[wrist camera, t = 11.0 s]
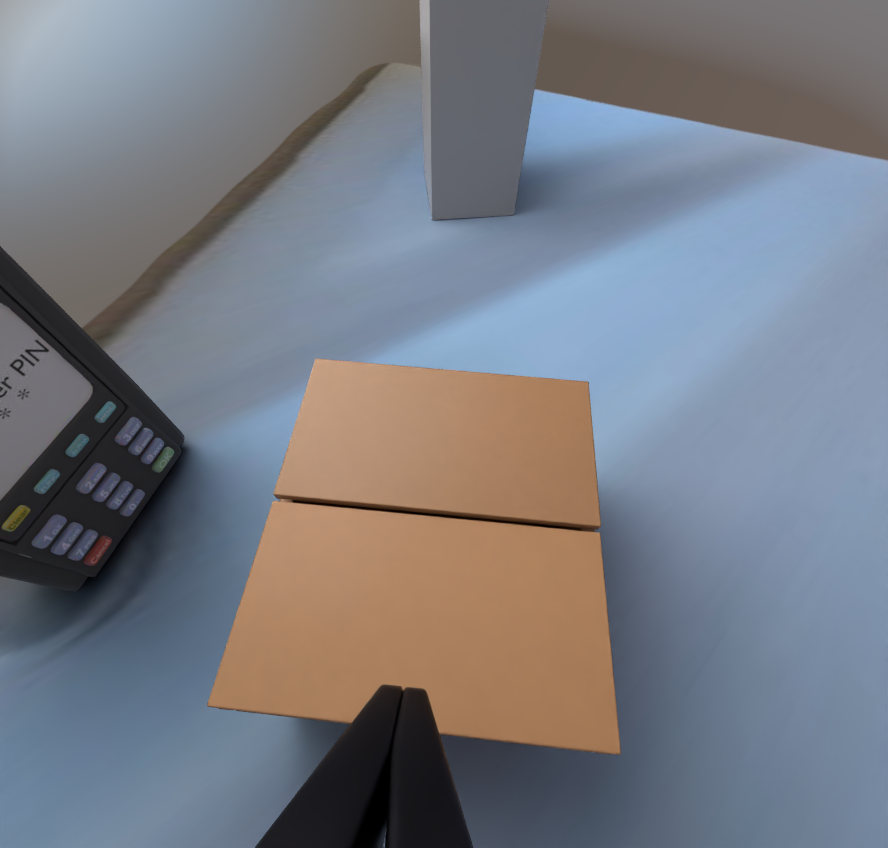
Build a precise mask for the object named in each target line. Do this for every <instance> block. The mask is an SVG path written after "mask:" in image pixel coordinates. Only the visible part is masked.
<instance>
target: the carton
mask: <svg viewBox="0 0 888 848" xmlns="http://www.w3.org/2000/svg"><path fill="white" fill-rule="evenodd" d="M273 494H274V496H275V497H276V498H278V499H280V501H281V502H291V503H301V504H311V505H321V506H332V507H342V508H352V509H362V510H372V511H383V512H393V513H403V514H413V515H423V516H434V517H444V518H454V519H464V520H474V521H485V522H495V523H505V524H515V525H525V526H536V527H546V528H556V529H566V530H577V531H587V532H595V530H597V529H599V528H600V527H601V520H600V508H599V497H598V485H597V474H596V463H595V451H594V440H593V428H592V417H591V405H590V394H589V383H588V382H584V381H572V380H561V379H549V378H537V377H525V376H514V375H502V374H490V373H478V372H467V371H455V370H443V369H432V368H420V367H408V366H396V365H385V364H373V363H361V362H349V361H338V360H326V359H316V360H315V363H314V366H313V369H312V372H311V375H310V379H309V382H308V385H307V388H306V391H305V395H304V398H303V401H302V404H301V407H300V411H299V414H298V417H297V420H296V423H295V426H294V430H293V433H292V436H291V439H290V442H289V446H288V449H287V452H286V455H285V458H284V462H283V465H282V468H281V471H280V474H279V477H278V481H277V484H276V487H275V490H274V493H273ZM219 709H223V708H219ZM226 710H232V709H226ZM236 711H241V710H236ZM243 712H249V711H243ZM251 713H258V712H251ZM260 714H266V713H260ZM269 715H275V714H269ZM277 716H283V715H277ZM286 717H292V716H286ZM294 718H300V717H294ZM303 719H309V718H303ZM311 720H318V719H311ZM320 721H326V720H320ZM328 722H335V721H328ZM337 723H343V722H337ZM345 724H351V723H345ZM440 735H446V734H440ZM448 736H454V735H448ZM457 737H463V736H457ZM465 738H472V737H465ZM474 739H480V738H474ZM482 740H489V739H482ZM491 741H497V740H491ZM499 742H506V741H499ZM508 743H514V742H508ZM517 744H523V743H517ZM525 745H531V744H525ZM534 746H540V745H534ZM542 747H549V746H542ZM551 748H557V747H551ZM559 749H566V748H559ZM568 750H574V749H568ZM576 751H583V750H576ZM585 752H591V751H585ZM596 753H600V752H596ZM602 754H608V753H602Z"/></svg>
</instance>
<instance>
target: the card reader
mask: <svg viewBox="0 0 888 848" xmlns="http://www.w3.org/2000/svg"><path fill="white" fill-rule="evenodd" d="M183 442H184V435H183V434H182V432H181V431H180V430H179V429H178V428H177V427H176V426H175V425H174V424H173V423H172V422H171V421H170V419H169V418H168V417H167V416H166V415H165V414H164V413H163V412H162V411H161V410H160V409H159V408H158V407H157V405H156V404H155V403H154V402H153V401H152V400H151V399H150V398H149V397H148V396H147V395H146V394H145V393H144V392H143V390H142V389H141V388H140V387H139V386H138V385H137V384H136V383H135V382H134V381H133V380H132V379H131V378H130V377H129V376H128V375H127V374H126V373H125V372H124V371H123V370H122V369H121V368H120V367H119V366H118V365H117V364H116V363H115V362H114V361H113V360H112V359H111V358H110V357H109V356H108V355H107V354H106V353H105V352H104V351H103V350H102V348H101V347H100V346H99V345H98V344H97V343H96V342H95V341H94V340H93V339H92V338H91V337H90V336H89V335H88V334H87V333H86V332H85V331H84V330H83V329H82V328H81V327H80V326H79V325H78V324H77V323H76V322H75V321H74V320H73V319H72V318H71V317H70V316H69V315H68V314H67V313H66V312H65V311H64V310H63V309H62V308H61V307H60V306H59V305H58V304H57V303H56V302H55V301H54V300H53V299H52V298H51V297H50V296H49V295H48V294H47V293H46V292H45V291H44V290H43V289H42V288H41V287H40V286H39V285H38V284H37V283H36V282H35V281H34V280H33V279H32V278H31V277H30V276H29V275H28V274H27V273H26V272H25V271H24V270H23V269H22V268H21V267H20V266H19V265H18V264H17V263H16V262H15V261H14V260H13V259H12V258H11V257H10V256H9V255H8V254H7V253H6V252H5V251H4V250H3V249H2V248H1V247H0V576H2V577H6V578H11V579H16V580H20V581H25V582H30V583H35V584H39V585H44V586H49V587H54V588H58V589H63V590H68V591H77V590H78V589H79V588H81V586H82V585H83V584H84V582H85V581H86V579H87V578H88V576H89V577H95V576H96V575H97V574H98V572H99V571H100V569H101V568H102V567H103V565H104V564H105V562H106V561H107V559H108V558H109V557H110V555H111V554H112V552H113V551H114V549H115V548H116V547H117V545H118V544H119V542H120V541H121V539H122V538H123V536H124V535H125V534H126V532H127V531H128V529H129V528H130V526H131V525H132V524H133V522H134V521H135V519H136V518H137V516H138V515H139V513H140V512H141V511H142V509H143V508H144V506H145V505H146V503H147V502H148V501H149V499H150V498H151V496H152V495H153V493H154V492H155V490H156V489H157V488H158V486H159V485H160V483H161V482H162V480H163V479H164V478H165V476H166V475H167V473H168V472H169V470H170V469H171V467H172V466H173V465H174V463H175V462H176V460H177V459H178V457H179V456H180V455H181V448H180V446H181V444H182V443H183Z"/></svg>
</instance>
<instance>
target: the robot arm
mask: <svg viewBox="0 0 888 848" xmlns="http://www.w3.org/2000/svg"><path fill="white" fill-rule="evenodd" d="M385 832H386V841H385V848H473V845H472V841H471V838H470V835H469V831H468V828H467V825H466V821H465V818H464V815H463V811H462V808H461V804H460V801H459V798H458V794H457V791H456V788H455V784H454V781H453V778H452V774H451V771H450V768H449V764H448V761H447V758H446V754H445V751H444V747H443V744H442V741H441V737H440V734H439V731H438V727H437V724H436V721H435V717H434V714H433V711H432V707H431V704H430V701H429V697H428V694H427V692H426V690H425V689H423V688H414V687H406V688H405V689H404V690H403V688H402V687H401V686H397V685H388V684H383V685H381V686H380V687H379V688H378V689H377V691H376V692H375V693H374V694H373V696H372V697H371V698H370V700H369V701H368V702H367V703H366V705H365V706H364V707H363V709H362V710H361V711H360V712H359V714H358V715H357V716H356V718H355V719H354V720H353V722H352V723H351V724H350V725H349V727H348V728H347V729H346V731H345V732H344V733H343V734H342V736H341V737H340V738H339V740H338V741H337V742H336V743H335V745H334V746H333V747H332V749H331V750H330V751H329V752H328V754H327V755H326V756H325V758H324V759H323V760H322V762H321V763H320V764H319V765H318V767H317V768H316V769H315V771H314V772H313V773H312V774H311V776H310V777H309V778H308V780H307V781H306V782H305V783H304V785H303V786H302V787H301V789H300V790H299V791H298V792H297V794H296V795H295V796H294V798H293V799H292V800H291V802H290V803H289V804H288V805H287V807H286V808H285V809H284V811H283V812H282V813H281V814H280V816H279V817H278V818H277V820H276V821H275V822H274V823H273V825H272V826H271V827H270V829H269V830H268V831H267V832H266V834H265V835H264V836H263V838H262V839H261V840H260V842H259V843H258V844H257V845H256V847H255V848H382V847H383V842H384V838H385Z"/></svg>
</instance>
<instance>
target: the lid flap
mask: <svg viewBox="0 0 888 848" xmlns="http://www.w3.org/2000/svg"><path fill="white" fill-rule="evenodd" d="M383 684H388V685H397V686H401V687H402V688H403V690H404V689H405V688H406V687H414V688H423V689H425V690H426V692H427V694H428V697H429V701H430V704H431V707H432V711H433V714H434V717H435V721H436V724H437V727H438V731H439V734H446V735H454V736H463V737H472V738H480V739H489V740H497V741H506V742H514V743H523V744H531V745H540V746H549V747H557V748H566V749H574V750H583V751H591V752H600V753H608V754H617V755H620V754H621V749H620V738H619V728H618V717H617V706H616V696H615V685H614V675H613V664H612V653H611V643H610V632H609V621H608V611H607V600H606V590H605V579H604V568H603V558H602V547H601V537H600V533H597V532H587V531H577V530H566V529H556V528H546V527H536V526H525V525H515V524H505V523H495V522H485V521H474V520H464V519H454V518H444V517H434V516H423V515H413V514H403V513H393V512H383V511H372V510H362V509H352V508H342V507H332V506H321V505H311V504H301V503H291V502H281V501H273V502H272V506H271V509H270V512H269V515H268V518H267V521H266V524H265V527H264V530H263V533H262V537H261V540H260V543H259V546H258V549H257V552H256V555H255V558H254V561H253V564H252V568H251V571H250V574H249V577H248V580H247V583H246V586H245V589H244V592H243V595H242V599H241V602H240V605H239V608H238V611H237V614H236V617H235V620H234V623H233V626H232V630H231V633H230V636H229V639H228V642H227V645H226V648H225V651H224V654H223V657H222V661H221V664H220V667H219V670H218V673H217V676H216V679H215V682H214V685H213V688H212V692H211V695H210V698H209V701H208V704H207V706H208V707H215V708H223V709H232V710H241V711H249V712H258V713H266V714H275V715H283V716H292V717H300V718H309V719H318V720H326V721H335V722H343V723H352V722H353V720H354V719H355V718H356V716H357V715H358V714H359V712H360V711H361V710H362V709H363V707H364V706H365V705H366V703H367V702H368V701H369V700H370V698H371V697H372V696H373V694H374V693H375V692H376V691H377V689H378V688H379V687H380V686H381V685H383Z"/></svg>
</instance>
